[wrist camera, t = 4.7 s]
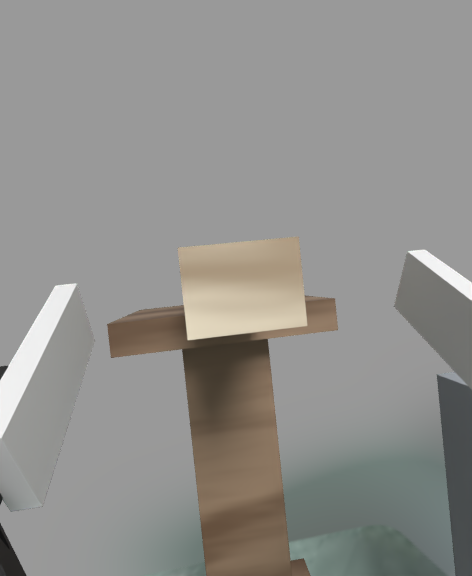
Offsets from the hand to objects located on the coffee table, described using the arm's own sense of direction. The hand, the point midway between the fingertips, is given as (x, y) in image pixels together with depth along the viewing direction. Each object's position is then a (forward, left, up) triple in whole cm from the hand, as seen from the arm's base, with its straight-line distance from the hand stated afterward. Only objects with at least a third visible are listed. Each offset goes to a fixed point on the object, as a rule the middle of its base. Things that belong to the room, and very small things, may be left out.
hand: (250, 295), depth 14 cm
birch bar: (-2, +10, -1) cm, 10 cm away
